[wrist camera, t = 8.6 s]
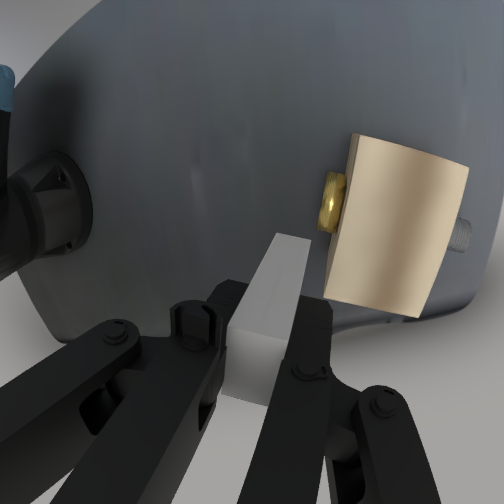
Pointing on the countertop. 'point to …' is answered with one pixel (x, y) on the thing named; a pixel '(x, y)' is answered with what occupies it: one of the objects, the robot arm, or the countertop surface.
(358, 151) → the bore block
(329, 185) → the pin
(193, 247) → the countertop surface
